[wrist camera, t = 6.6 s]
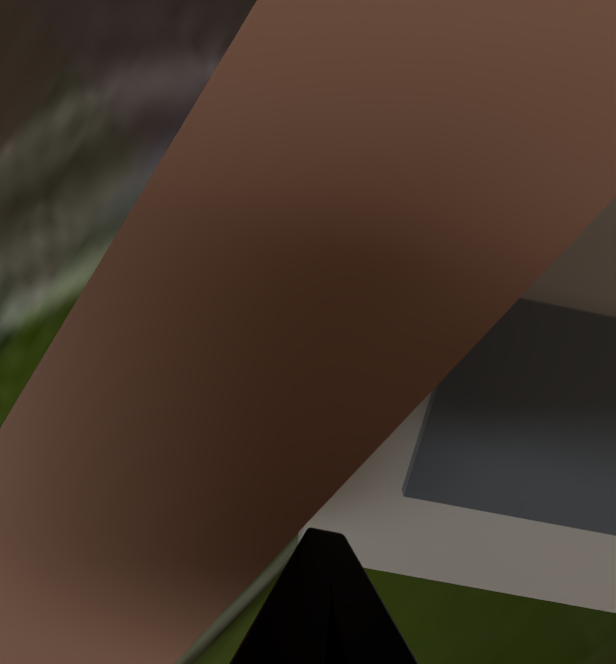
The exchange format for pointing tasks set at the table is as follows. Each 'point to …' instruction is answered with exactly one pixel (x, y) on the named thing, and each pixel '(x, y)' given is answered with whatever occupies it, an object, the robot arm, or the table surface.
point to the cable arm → (290, 300)
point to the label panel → (508, 451)
